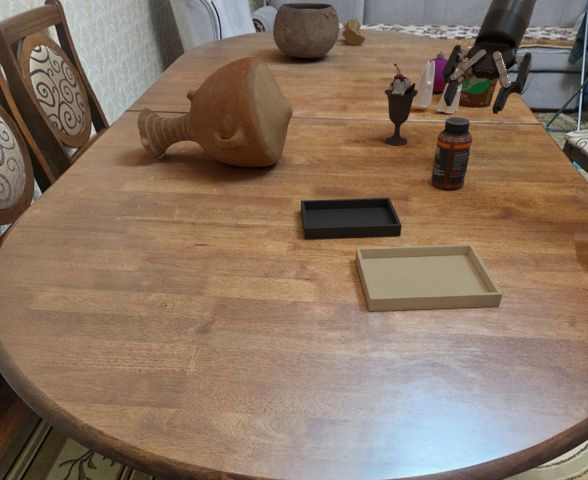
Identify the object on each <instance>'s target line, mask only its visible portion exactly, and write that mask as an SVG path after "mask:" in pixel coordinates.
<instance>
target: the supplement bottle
mask: <svg viewBox="0 0 588 480" xmlns="http://www.w3.org/2000/svg"><path fill="white" fill-rule="evenodd" d="M469 129H470V120H469V119H468V118H465V117H460V116H454V117H448V118H446V119H445V124H444V129H443V130H442V131H440V132H439V134H438V135H437V139H436V145H435V153H434V159H433V166H432V172H431V178H430V179H431V180H430V182H431V184H432V185H433V186H434V187H436V188H439V189H443V190H457V189H459V188H461V187H463V186H464V185H465V180H466V175H467V171H468V164H469V160H470V154H471V148H472V144H473V136H472V134H471V133H470V132H469Z"/></svg>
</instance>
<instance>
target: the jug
mask: <svg viewBox="0 0 588 480" xmlns="http://www.w3.org/2000/svg"><path fill="white" fill-rule="evenodd" d="M186 98H187V100H189V101H190V109H189V112H188V113H187V114H184V115H182V116H178V117H161V116H159V114H158V113H156V112H155V111H154V110H152V109H150V108H148V107H144V108H142V110H141V111H140V113H139V114H138V117H137V128H138V134H139V137H140V141H141V145H142V147H143V148H144V149H145V151H146V153H147V154H148V155H149V156H150V157H151V158H152V159H154V160H158V159H157V158H159V157H161V156H162V155H163V154H164V153H165V154H166V152H167V150H168V148H170V147H171V146H172V145H174V144H178V143H180V142H194V143H197V144H198V145H199V147H200V148H201V149H202V150H203V151H204V152H205V153H206V154H208V155H209V156H210V157H212V158H214V159H215V160H217V161H219V162H221V163H224V164H227V165H229V166H235V167H242V168H244V167H245V168H259V167H260V168H261V167H268V166H272V165H275V164H276V163H278V162H279V161H280V160H281V158H282V156H283V152H284V148H285V144H286V139H287V136H288V129H289V124H290V121H291V119H292V116H293V114H294V109H293V106H292V104H291V103H290V102H289V101H288V99H286V96H285V95H284V94H283V92H282V90H281V88H280V86H279V84H278V81H277V80H276V77H275V76H274V74H273V72H272V71H271V70H270V68H269V67H268V65H267V64H266V63H265V62H264V61H263V60H261V59H260V58H258V57H256V56H247V57H242V58H239V59H235V60H233V61H231V62H229V63H227V64H225V65H223V66H221V67H219V68H217V69H216V70H215V71H213V72H212V73H211V74H210V75H209V76H208V77H207V78H206V79H205V80H204V81H202V83H201V84H200V86H199V87H198V88H197V89H196V90H193V89H189V90H188V91H187V93H186Z"/></svg>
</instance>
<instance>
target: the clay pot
mask: <svg viewBox="0 0 588 480" xmlns="http://www.w3.org/2000/svg"><path fill="white" fill-rule="evenodd" d="M336 10H337V9H335V8H334V6H333V5H332V4H328V3H318V2H289V3H287V2H286V3H282V4H281V5H280V7H279V8H278V10H277V11H276V14H275V17H274V21H273V27H272V35H273V40H274V43H275V45H276V47H277V48H278V50H280V52H281V53H283V54H285V55H286V56H289V57H291V58H296V59H318V58H321V57H324V56H325V55H326V54H328V53H329V52H330V51H331V50H332V49H333V48H334V46H335V44H336V43H337V41H338V38H339V34H340V21H339V15H338V14H337V11H336Z"/></svg>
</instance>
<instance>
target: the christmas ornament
mask: <svg viewBox="0 0 588 480" xmlns="http://www.w3.org/2000/svg"><path fill="white" fill-rule="evenodd" d="M431 61H434V62H435V73H434V82H433V92H432V93H439V92H440V93H441V92H444V89H445V86H446V84H447V83H445V82H444V79H443V74H442V72H443V69H444V67H445V65H446V63H447V61H448V59H447V58H445V54H444V53H443V50H442V49H440V52H439V53H436V57H435V58H431V59H430V60H429V62H430V63H431Z"/></svg>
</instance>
